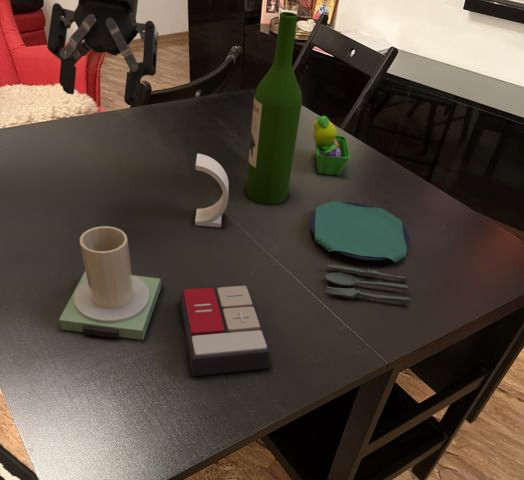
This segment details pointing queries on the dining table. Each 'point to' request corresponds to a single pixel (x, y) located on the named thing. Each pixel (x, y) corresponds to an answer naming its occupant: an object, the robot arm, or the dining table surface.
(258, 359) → the calculator
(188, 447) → the dining table surface
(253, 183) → the wine bottle
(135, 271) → the dining table surface
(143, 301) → the scale
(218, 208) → the headphone stand
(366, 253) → the cutlery set
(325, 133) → the fruit basket
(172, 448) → the dining table surface
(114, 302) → the cream cup
